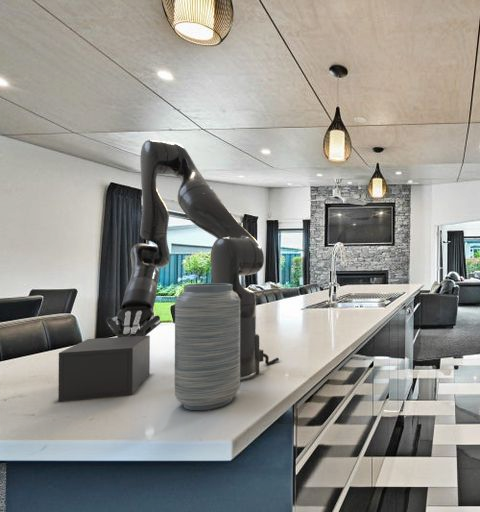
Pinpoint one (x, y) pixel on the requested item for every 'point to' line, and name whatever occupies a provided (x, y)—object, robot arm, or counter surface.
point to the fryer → (103, 367)
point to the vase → (207, 345)
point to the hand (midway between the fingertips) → (127, 349)
